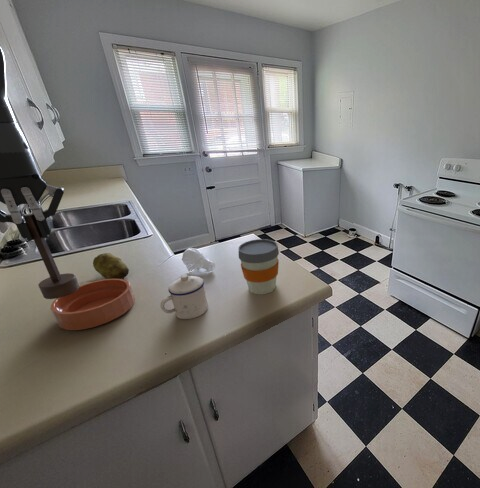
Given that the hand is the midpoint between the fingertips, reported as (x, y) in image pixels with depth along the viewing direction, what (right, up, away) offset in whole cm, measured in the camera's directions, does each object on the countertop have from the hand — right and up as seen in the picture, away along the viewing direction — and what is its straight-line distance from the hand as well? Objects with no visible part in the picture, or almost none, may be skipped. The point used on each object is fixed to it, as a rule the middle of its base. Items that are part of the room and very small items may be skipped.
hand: (38, 237), depth 56 cm
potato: (-18, -13, +42) cm, 48 cm away
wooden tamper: (0, -12, +5) cm, 13 cm away
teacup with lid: (+19, -21, +23) cm, 37 cm away
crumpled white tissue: (+13, -11, +46) cm, 49 cm away
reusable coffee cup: (+38, -16, +36) cm, 54 cm away
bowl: (-7, -21, +23) cm, 32 cm away
